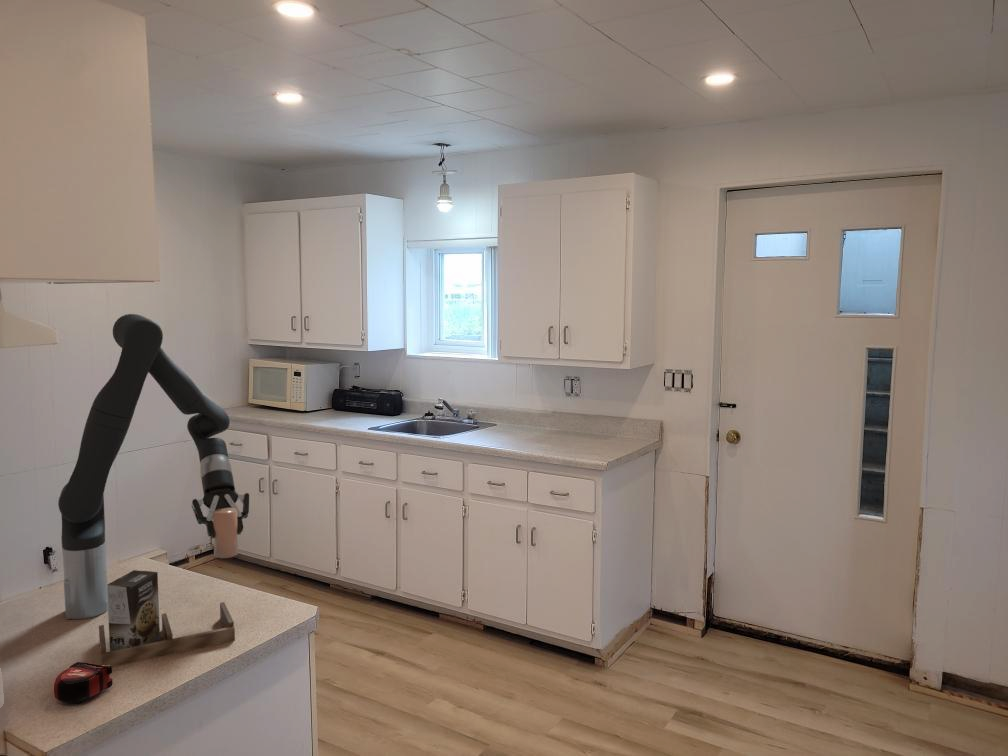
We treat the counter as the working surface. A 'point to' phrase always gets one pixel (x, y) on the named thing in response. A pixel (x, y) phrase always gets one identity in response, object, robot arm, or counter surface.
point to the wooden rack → (168, 642)
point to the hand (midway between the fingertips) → (226, 534)
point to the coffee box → (133, 610)
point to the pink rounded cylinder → (225, 532)
